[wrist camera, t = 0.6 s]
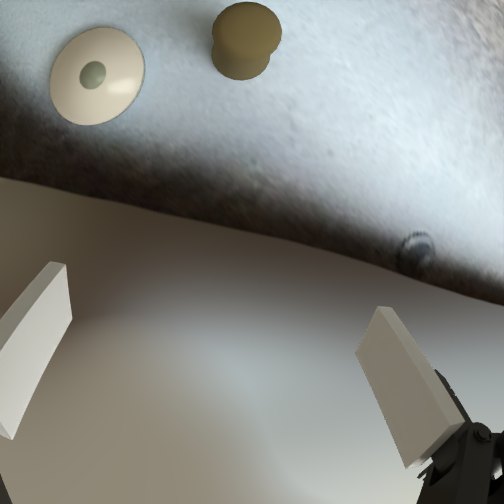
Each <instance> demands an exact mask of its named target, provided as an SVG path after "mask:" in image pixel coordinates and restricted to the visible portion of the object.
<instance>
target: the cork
mask: <svg viewBox="0 0 504 504" xmlns="http://www.w3.org/2000/svg"><path fill="white" fill-rule="evenodd" d="M212 35H213V39H214V46H213V48H212V60H213V64H214V65H215V67H216V68H217V70H218V71H219V72H220V73H221V74H223V75H224V76H225V77H228V78H231V79H233V80H247V79H252V78H254V77H256V76H258V75H260V74H261V73H262V72H263V71H264V70H265V69H266V67H267V65H268V63H269V60H270V55H271V54H272V53H273V52H274V51H275V50H276V49H277V47H278V45H279V43H280V41H281V35H282V29H281V25H280V21H279V19H278V18H277V16H276V15H275V13H274V12H272V11H271V10H270V9H269V8H267V7H266V6H264V5H261V4H259V3H255V2H240V3H235V4H233V5H231V6H229V7H227V8H225V9H224V10H223V11H222V12H221V13H220V14H219V15H218V16H217V18H216V20H215V22H214V24H213V30H212Z"/></svg>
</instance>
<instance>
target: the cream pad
mask: <svg viewBox="0 0 504 504" xmlns="http://www.w3.org/2000/svg"><path fill="white" fill-rule="evenodd" d="M144 76H145V60H144V56H143V53H142V51H141V49H140V47H139V46H138V44H137V43H136V42H135V41H134V40H133V39H132V38H131V37H129V36H128V35H127V34H125V33H124V32H122V31H120V30H117V29H114V28H104V27H103V28H95V29H91V30H89V31H86V32H84V33H82V34H80V35H78V36H77V37H75V38H74V39H73V40H71V41H70V42H69V43H68V44H67V45H66V46H65V47H64V49H63V50H62V51H61V52H60V54H59V56H58V57H57V59H56V61H55V63H54V66H53V69H52V72H51V76H50V94H51V98H52V101H53V104H54V106H55V107H56V109H57V111H58V112H59V113H60V114H61V115H62V116H63V117H64V118H66V119H67V120H69V121H71V122H73V123H76V124H80V125H94V124H101V123H105V122H108V121H110V120H112V119H114V118H116V117H118V116H119V115H121V114H122V113H123V112H125V111H126V110H127V109H128V108H129V107H130V105H131V104H132V103H133V102H134V100H135V99H136V97H137V96H138V94H139V92H140V90H141V87H142V85H143V81H144Z"/></svg>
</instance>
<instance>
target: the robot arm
mask: <svg viewBox="0 0 504 504" xmlns="http://www.w3.org/2000/svg"><path fill="white" fill-rule="evenodd" d="M71 320H72V313H71V307H70V299H69V291H68V283H67V273H66V264H61V263H56V262H49V263H48V264H47V265H46V267H45V268H44V269H43V270H42V271H41V272H40V273H39V274H38V275H37V277H36V278H35V279H34V280H33V281H32V282H31V283H30V284H29V286H28V287H27V288H26V289H25V290H24V292H23V293H22V294H21V295H20V296H19V297H18V299H17V300H16V301H15V302H14V303H13V305H12V306H11V307H10V308H9V310H8V311H7V312H6V314H5V315H4V316H3V317H2V319H1V320H0V435H2V436H4V437H7V438H9V439H11V440H13V438H14V435H15V433H16V431H17V428H18V426H19V423H20V421H21V419H22V416H23V414H24V412H25V410H26V407H27V405H28V403H29V401H30V399H31V397H32V394H33V392H34V390H35V388H36V386H37V384H38V382H39V380H40V378H41V376H42V374H43V372H44V370H45V368H46V366H47V364H48V362H49V360H50V358H51V357H52V355H53V353H54V351H55V349H56V347H57V345H58V344H59V342H60V340H61V338H62V336H63V334H64V333H65V331H66V329H67V327H68V326H69V324H70V322H71ZM356 355H357V358H358V360H359V362H360V364H361V366H362V368H363V371H364V373H365V375H366V377H367V379H368V381H369V384H370V386H371V388H372V390H373V392H374V395H375V397H376V399H377V402H378V404H379V406H380V409H381V411H382V413H383V415H384V418H385V420H386V422H387V425H388V427H389V429H390V432H391V434H392V436H393V439H394V441H395V444H396V446H397V449H398V451H399V453H400V456H401V458H402V461H403V463H404V466H405V468H406V469H409V468H413V467H416V466H420V465H422V464H423V463H424V462H425V461H426V460H427V459H429V458H430V457H431V458H432V460H433V462H432V463H431V464H430V465H429V466H428V467H427V468H426V469H425V470H423V471H422V472H421V473H420V474H419V476H418V477H417V478H421V477H422V476H423V475H424V474H426V473H427V474H426V477H425V478H424V479H423V481H424V483H423V487H422V489H421V493H420V495H419V498H418V501H417V504H504V431H503V432H502V433H491V431H490V430H489V428H488V427H487V426H485V425H484V424H482V423H479V422H475V423H473V422H472V421H471V420H470V418H469V416H468V414H467V413H466V411H465V409H464V408H463V406H462V404H461V403H460V401H459V399H458V398H457V396H455V393H454V391H453V390H452V389H450V385H449V384H448V382H447V381H446V379H445V378H444V377H443V376H442V375H441V374H440V373H439V372H438V371H437V370H436V369H435V370H434V369H433V368H432V367H431V365H430V363H429V362H428V360H427V359H426V357H425V356H424V354H423V353H422V351H421V350H420V348H419V347H418V345H417V344H416V342H415V341H414V339H413V338H412V336H411V335H410V333H409V332H408V330H407V329H406V328H405V326H404V325H403V323H402V322H401V320H400V319H399V318H398V316H397V315H396V313H395V312H394V310H393V309H392V308H391V307H381V306H378V307H377V309H376V311H375V313H374V316H373V317H372V320H371V322H370V324H369V326H368V328H367V330H366V332H365V334H364V336H363V339H362V341H361V343H360V345H359V347H358V349H357V351H356ZM501 468H502V475H501V476H500V477H499V478H497V479H495V478H494V474H495V473H497V472H498V471H499V470H500V469H501ZM0 504H12V502H11V499H10V497H9V495H8V492H7V490H6V488H5V485H4V482H3V480H2V477H1V474H0Z"/></svg>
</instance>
